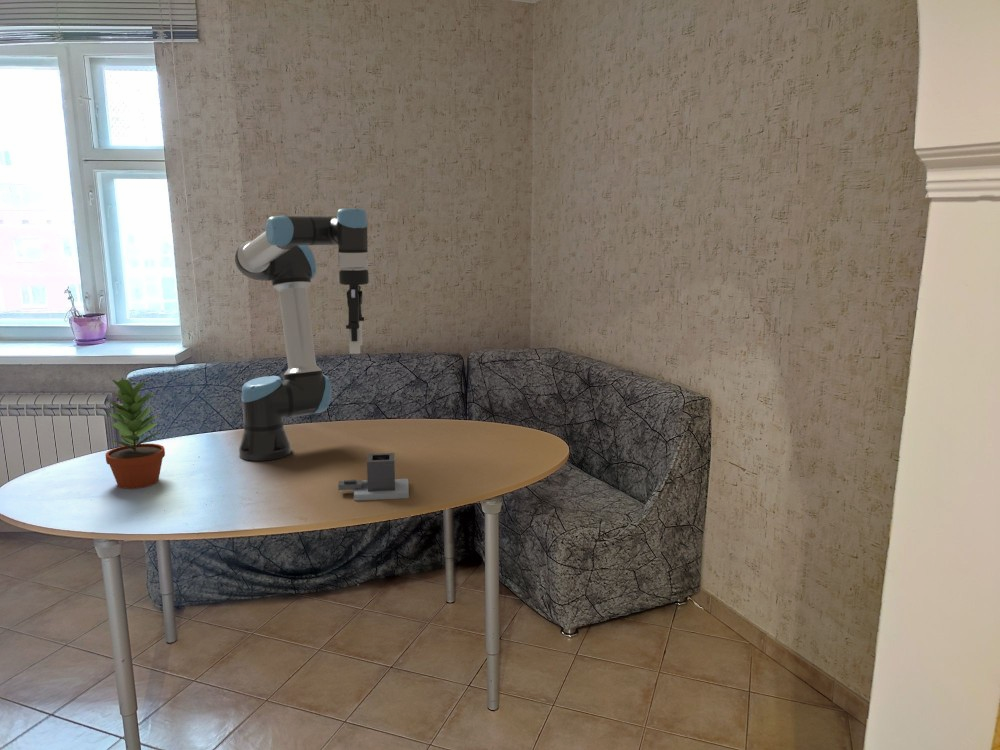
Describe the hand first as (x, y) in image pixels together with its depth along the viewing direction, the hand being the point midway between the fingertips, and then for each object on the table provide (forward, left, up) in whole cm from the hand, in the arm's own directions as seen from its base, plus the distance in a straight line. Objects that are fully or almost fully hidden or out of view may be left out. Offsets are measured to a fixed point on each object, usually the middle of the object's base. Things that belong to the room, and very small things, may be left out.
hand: (356, 349), depth 202 cm
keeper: (+6, -10, -37) cm, 39 cm away
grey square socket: (+2, -10, -35) cm, 37 cm away
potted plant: (-60, +6, -37) cm, 71 cm away
